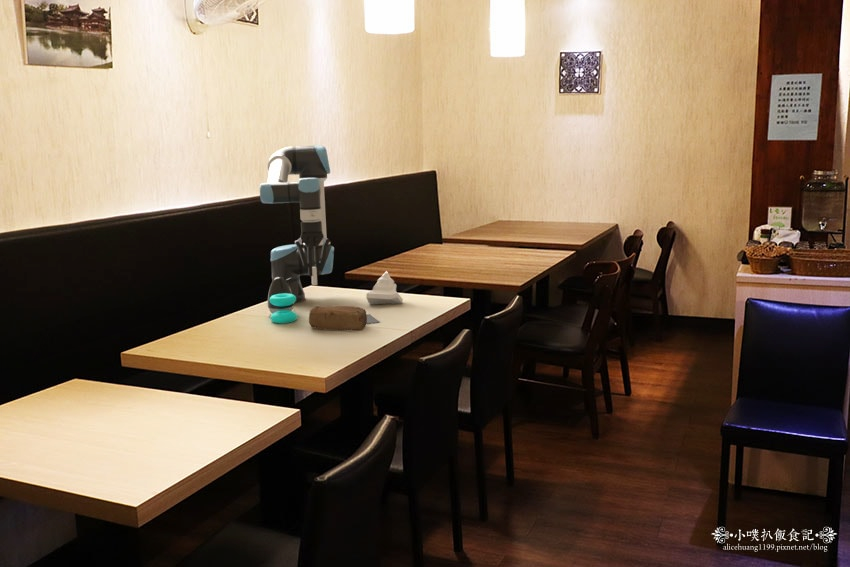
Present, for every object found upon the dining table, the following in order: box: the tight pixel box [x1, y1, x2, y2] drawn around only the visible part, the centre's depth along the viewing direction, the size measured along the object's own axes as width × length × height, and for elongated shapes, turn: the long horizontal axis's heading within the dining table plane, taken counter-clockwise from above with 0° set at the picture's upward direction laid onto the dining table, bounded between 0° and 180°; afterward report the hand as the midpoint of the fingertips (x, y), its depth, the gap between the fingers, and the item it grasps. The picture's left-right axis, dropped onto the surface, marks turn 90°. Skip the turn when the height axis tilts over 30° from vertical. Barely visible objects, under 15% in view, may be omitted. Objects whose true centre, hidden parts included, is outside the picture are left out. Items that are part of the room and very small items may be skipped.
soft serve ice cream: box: [365, 270, 404, 305], centre depth 327 cm, size 12×15×14 cm
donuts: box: [269, 293, 298, 324], centre depth 301 cm, size 10×10×10 cm
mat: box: [366, 313, 380, 325], centre depth 298 cm, size 14×21×1 cm, turn 110°
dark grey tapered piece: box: [267, 277, 295, 315], centre depth 311 cm, size 10×10×15 cm
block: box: [308, 305, 368, 331], centre depth 289 cm, size 11×8×20 cm
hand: (314, 284), depth 291 cm, fingers closed
